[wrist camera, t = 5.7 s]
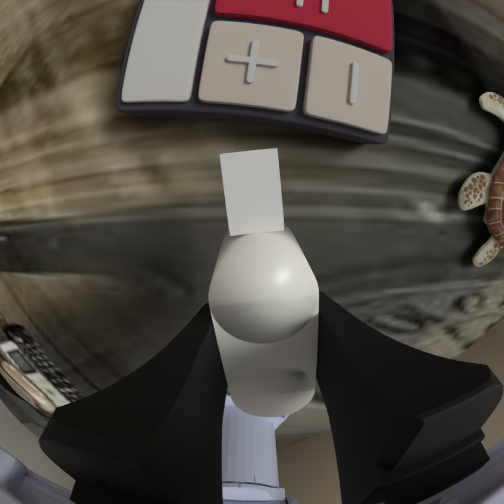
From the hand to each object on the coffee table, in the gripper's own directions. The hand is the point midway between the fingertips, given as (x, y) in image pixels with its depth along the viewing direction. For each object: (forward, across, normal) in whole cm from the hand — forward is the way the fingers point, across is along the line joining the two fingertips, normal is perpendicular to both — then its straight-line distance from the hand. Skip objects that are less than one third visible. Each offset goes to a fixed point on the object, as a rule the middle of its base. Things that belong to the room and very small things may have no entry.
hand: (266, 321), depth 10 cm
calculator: (+9, -2, -13) cm, 16 cm away
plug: (+2, 0, -1) cm, 2 cm away
